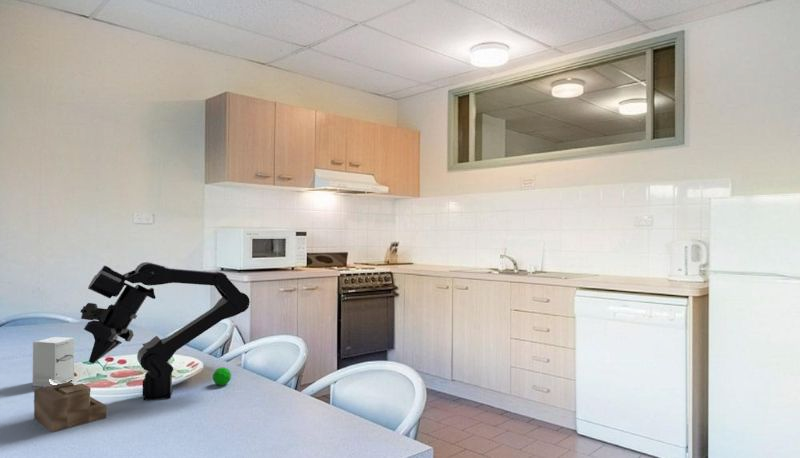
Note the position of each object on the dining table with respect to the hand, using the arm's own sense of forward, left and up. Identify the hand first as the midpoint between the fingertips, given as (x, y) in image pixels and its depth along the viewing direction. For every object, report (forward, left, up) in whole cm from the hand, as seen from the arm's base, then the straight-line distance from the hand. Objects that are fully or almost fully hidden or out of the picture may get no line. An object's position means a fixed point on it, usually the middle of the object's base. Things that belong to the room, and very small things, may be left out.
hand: (91, 362), depth 132 cm
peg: (+2, +6, -11) cm, 13 cm away
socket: (+2, +6, -11) cm, 13 cm away
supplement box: (+15, -25, -12) cm, 31 cm away
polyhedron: (-31, -11, -12) cm, 35 cm away
